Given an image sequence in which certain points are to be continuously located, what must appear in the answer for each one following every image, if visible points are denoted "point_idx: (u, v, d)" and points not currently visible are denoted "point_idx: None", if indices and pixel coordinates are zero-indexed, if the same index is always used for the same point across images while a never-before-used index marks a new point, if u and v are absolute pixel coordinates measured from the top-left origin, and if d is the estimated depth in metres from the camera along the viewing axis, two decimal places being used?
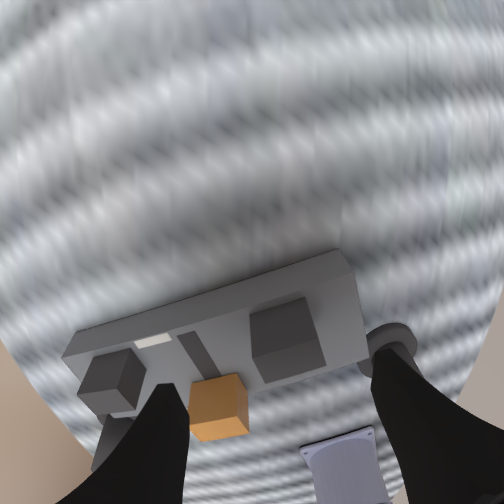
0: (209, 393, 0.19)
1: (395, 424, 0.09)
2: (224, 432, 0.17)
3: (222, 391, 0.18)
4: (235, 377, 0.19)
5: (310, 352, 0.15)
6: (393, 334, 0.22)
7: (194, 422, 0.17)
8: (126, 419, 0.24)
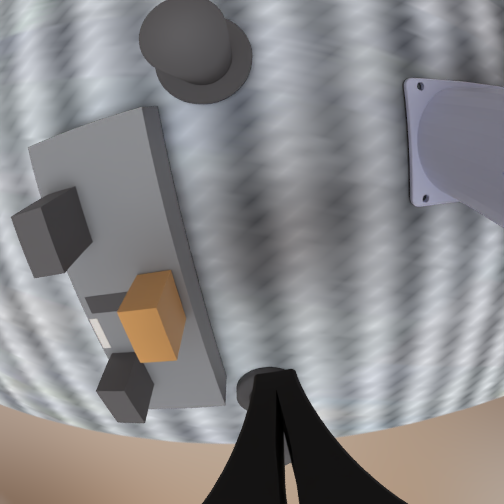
0: None
1: (289, 448, 0.09)
2: (152, 332, 0.14)
3: None
4: (135, 279, 0.17)
5: (25, 224, 0.12)
6: None
7: None
8: None
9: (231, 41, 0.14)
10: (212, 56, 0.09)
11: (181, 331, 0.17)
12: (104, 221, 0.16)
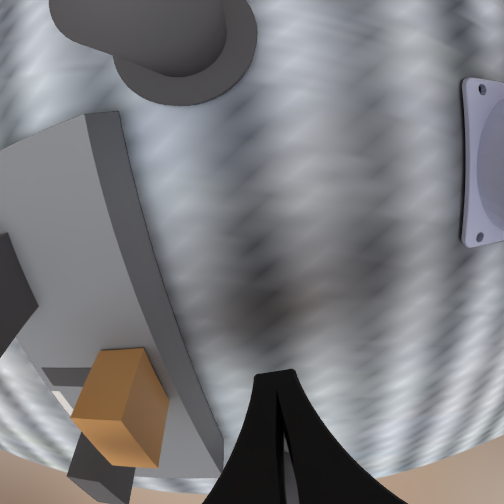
0: None
1: (289, 448, 0.09)
2: (120, 442, 0.09)
3: None
4: (97, 358, 0.11)
5: None
6: None
7: None
8: None
9: (225, 11, 0.09)
10: (183, 7, 0.04)
11: (163, 424, 0.11)
12: (48, 282, 0.10)
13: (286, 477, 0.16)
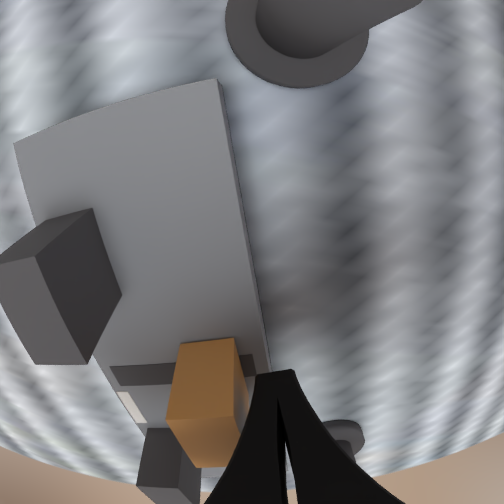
0: None
1: (288, 448, 0.09)
2: (221, 441, 0.09)
3: None
4: (179, 352, 0.11)
5: (9, 283, 0.06)
6: (235, 12, 0.09)
7: None
8: None
9: None
10: None
11: None
12: (143, 265, 0.10)
13: None
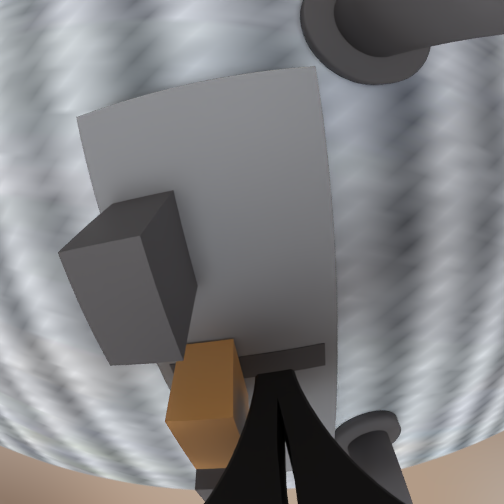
0: None
1: (288, 448, 0.09)
2: (220, 442, 0.09)
3: None
4: None
5: (94, 270, 0.06)
6: (315, 6, 0.08)
7: None
8: (360, 440, 0.18)
9: None
10: None
11: None
12: (225, 253, 0.10)
13: (390, 454, 0.16)
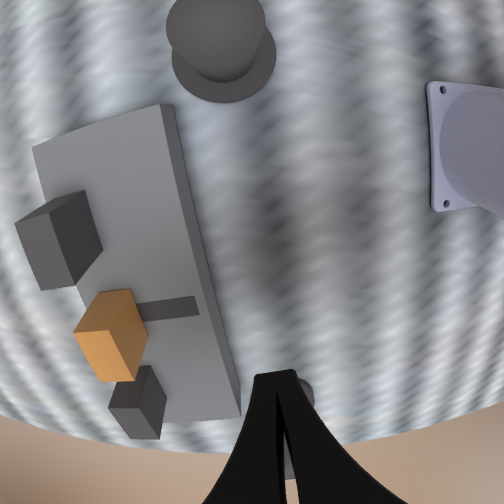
0: None
1: (289, 448, 0.09)
2: (107, 353, 0.13)
3: None
4: (95, 298, 0.16)
5: (30, 232, 0.11)
6: None
7: None
8: None
9: None
10: (249, 49, 0.08)
11: (141, 350, 0.16)
12: (116, 228, 0.15)
13: None
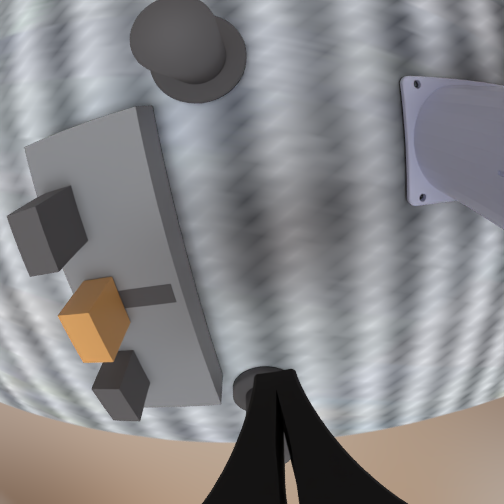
0: None
1: (289, 448, 0.09)
2: (88, 335, 0.14)
3: None
4: (81, 285, 0.17)
5: (20, 223, 0.12)
6: None
7: None
8: None
9: (225, 40, 0.14)
10: (202, 56, 0.09)
11: (122, 334, 0.17)
12: (99, 220, 0.16)
13: None
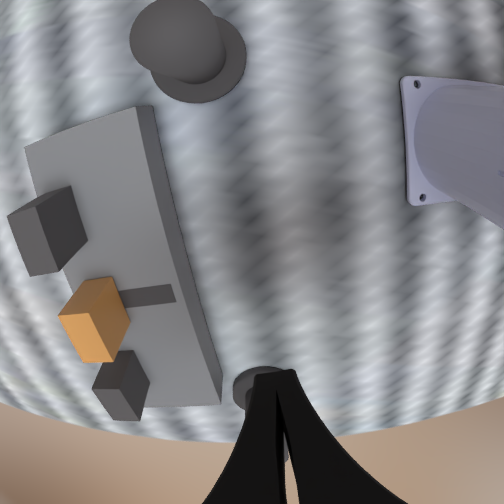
0: None
1: (289, 448, 0.09)
2: (88, 335, 0.14)
3: None
4: (81, 285, 0.17)
5: (20, 223, 0.12)
6: None
7: None
8: None
9: (225, 40, 0.14)
10: (202, 56, 0.09)
11: (122, 334, 0.17)
12: (99, 220, 0.16)
13: None
